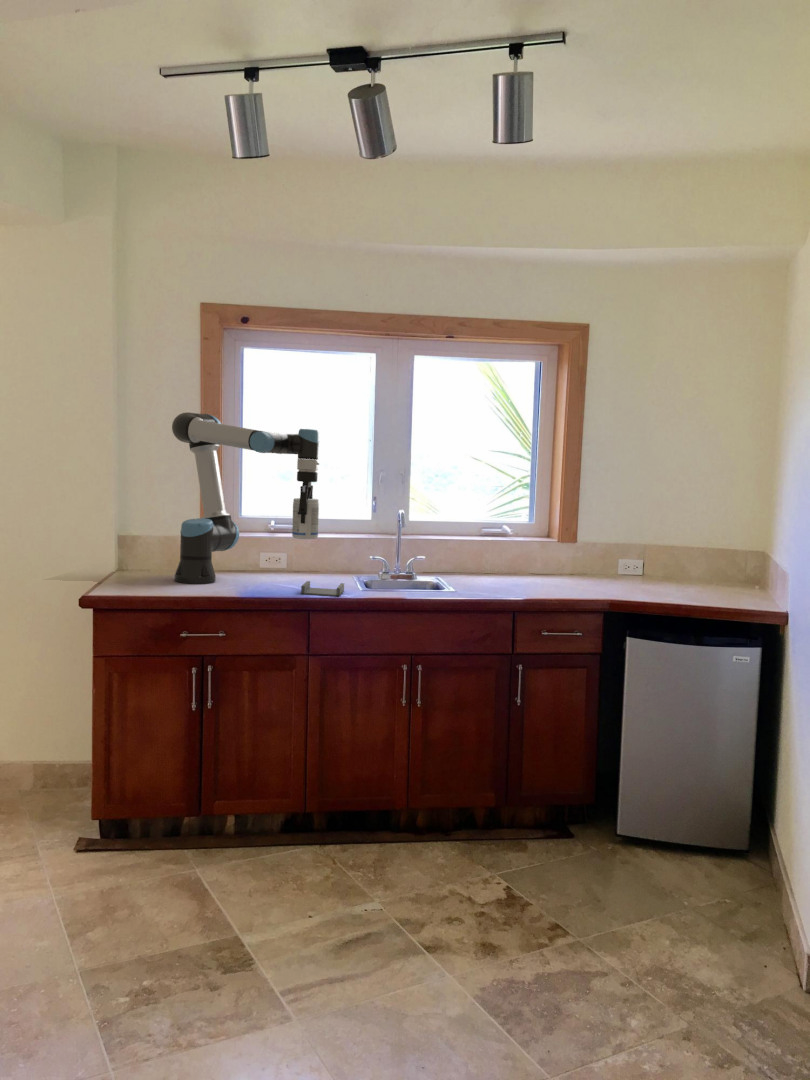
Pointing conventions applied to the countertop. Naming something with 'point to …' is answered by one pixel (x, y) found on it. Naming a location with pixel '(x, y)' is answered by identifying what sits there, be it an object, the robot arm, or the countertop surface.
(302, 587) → the end holder
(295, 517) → the supplement tub
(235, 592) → the countertop surface
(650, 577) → the countertop surface
